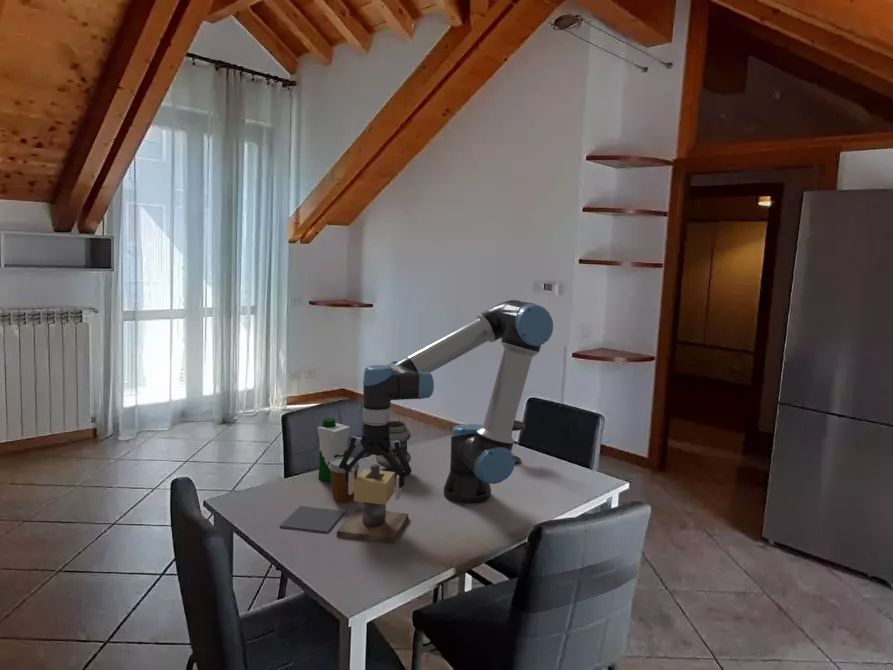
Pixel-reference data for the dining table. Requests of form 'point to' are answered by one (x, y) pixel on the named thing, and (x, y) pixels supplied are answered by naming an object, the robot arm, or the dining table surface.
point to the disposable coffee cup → (341, 480)
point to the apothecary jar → (396, 433)
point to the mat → (312, 519)
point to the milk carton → (331, 445)
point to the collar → (374, 487)
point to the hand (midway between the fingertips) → (374, 495)
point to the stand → (373, 520)
